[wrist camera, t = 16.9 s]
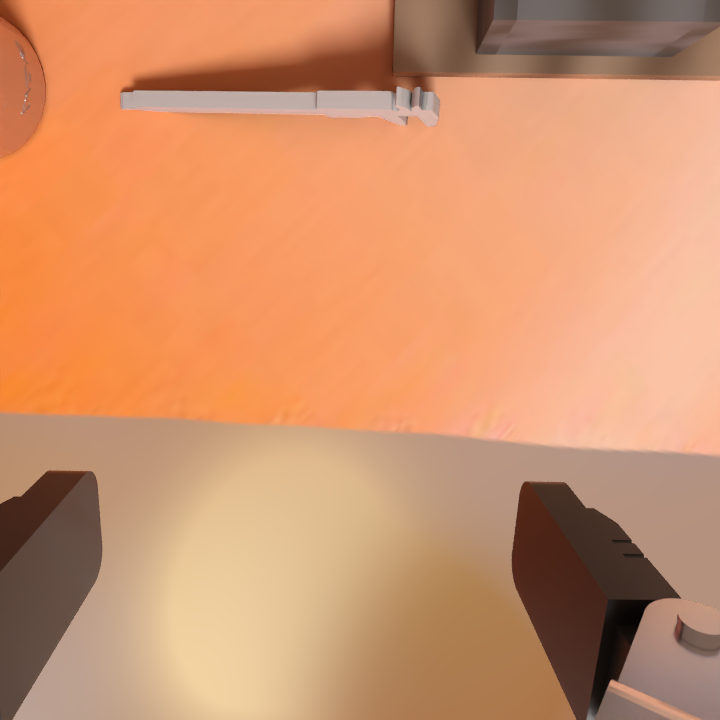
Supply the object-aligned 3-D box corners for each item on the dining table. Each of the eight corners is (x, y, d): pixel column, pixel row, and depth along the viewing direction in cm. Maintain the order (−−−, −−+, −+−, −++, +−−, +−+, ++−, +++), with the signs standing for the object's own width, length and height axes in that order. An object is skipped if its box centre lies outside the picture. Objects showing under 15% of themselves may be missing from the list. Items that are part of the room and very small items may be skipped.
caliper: (435, 110, 39) (445, 85, 33) (434, 128, 40) (444, 107, 34) (123, 93, 40) (76, 66, 34) (123, 111, 40) (76, 88, 34)
